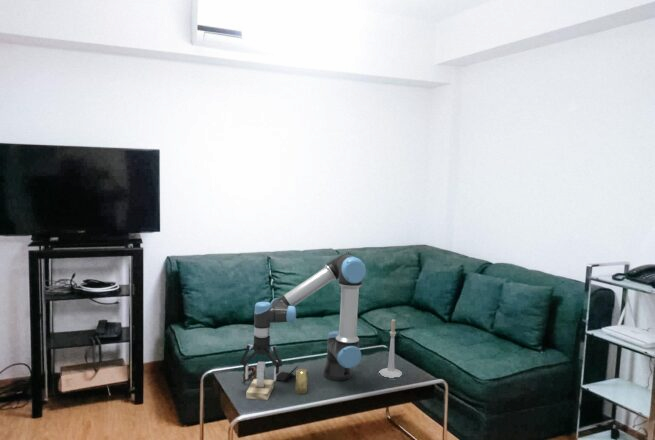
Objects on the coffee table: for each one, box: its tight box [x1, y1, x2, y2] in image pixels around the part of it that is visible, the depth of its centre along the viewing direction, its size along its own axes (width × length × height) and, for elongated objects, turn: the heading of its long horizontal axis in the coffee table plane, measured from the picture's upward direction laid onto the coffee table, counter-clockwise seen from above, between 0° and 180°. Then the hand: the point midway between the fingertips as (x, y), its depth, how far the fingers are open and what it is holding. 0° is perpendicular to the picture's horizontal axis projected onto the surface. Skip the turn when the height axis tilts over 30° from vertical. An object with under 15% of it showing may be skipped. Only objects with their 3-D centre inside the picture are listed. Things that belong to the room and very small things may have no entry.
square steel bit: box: [256, 361, 266, 388], centre depth 238 cm, size 3×3×14 cm
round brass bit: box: [295, 368, 309, 395], centre depth 241 cm, size 6×6×10 cm
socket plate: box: [245, 378, 275, 401], centre depth 238 cm, size 10×16×3 cm, turn 175°
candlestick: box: [378, 318, 403, 378], centre depth 265 cm, size 13×13×30 cm
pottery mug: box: [241, 365, 257, 382], centre depth 252 cm, size 12×10×8 cm
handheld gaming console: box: [275, 365, 298, 383], centre depth 256 cm, size 12×7×10 cm
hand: (260, 379), depth 238 cm, fingers open, 13 cm apart
